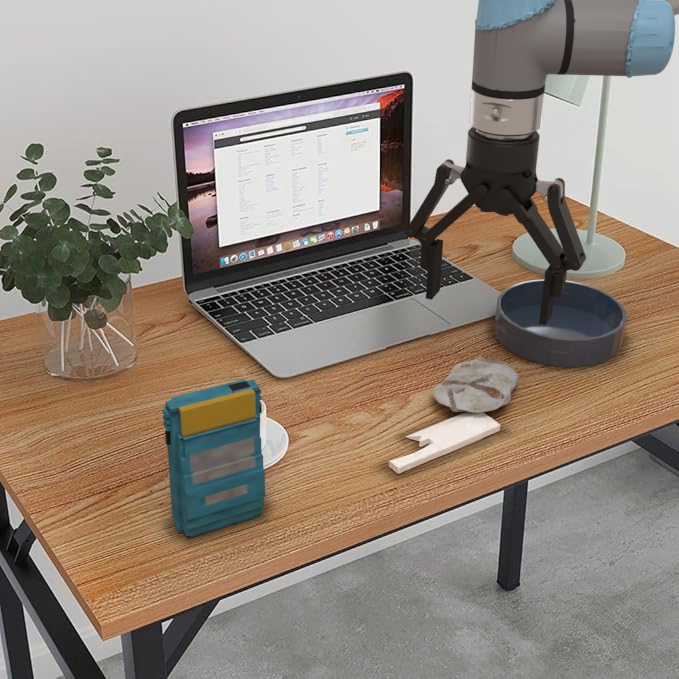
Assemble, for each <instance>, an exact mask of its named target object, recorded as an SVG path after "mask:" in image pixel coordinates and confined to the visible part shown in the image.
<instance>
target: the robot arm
mask: <svg viewBox="0 0 679 679" xmlns="http://www.w3.org/2000/svg"><path fill="white" fill-rule="evenodd" d="M678 15H679V0H478V5H477V12H476V19H475V20H474V25H475V26H474V27H475V28H474V43H473V58H472V59H473V61H472V74H471V75H472V77H471V86H470V87H471V89H470V101H469V102H470V103H469V115H468V116H469V119H468V123H469V125H470V126H471V127H470V128H469V129H468V131H467V139H466V141H467V142H466V152H465V153H466V154H465V165H464V166H461V165H457V164H455V162H454V161H453V159H449V158H448V159H446V160H444V161H443V162H442V163H441V164H440V165H439V166H438V167H437V168H436V170H435V176H434V181H433V182H434V183H433V185H432V187H431V188H430V189H429V192H428V193H427V195H426V197H424V200H423V202H422V203H421V205H420V206H419V208H418V210H417V211H416V213H415V215H414V216H413V218H412V220H411V221H410V223H409V224H408V226H407V228H406V229H405V235H406V237H407V238H410V239H412V238H414V239H415V240H417V241H418V242H419V244H420V259H419V266H420V268H421V270H424V271H425V270H426V271H427V272H426V286H425V299H427V300H431V301H432V300H433V299H434V298H435V297H436V296H437V295H438V293H439V292H440V291H441V280H442V265H443V264H442V263H443V250H444V239H439V238H438V237H440V236H441V234H442V233H444V232H445V231H446V230H447V229H448V228H449V227H450V226H452V225H453V224H454V223H455V222H457V220H459V218H461V217H462V216H463V215H464V214H465V213H466V212H468V211H469V210H470V209H471V208H472V207H473V206H475V207H476V208H478V209H479V210H480V212H482V213H495V214H497V215H500V216H503V217H509V216H510V215H513V216H514V218H515V219H516V222H518V224H521V225H522V226H523V227H524V229H525V230H526V232H527V233H528V235H529V236H530V238H531V239H532V241H533V242H534V244H535V246H536V247H537V248H538V250H539V251H540V253H541V255H542V256H543V257H544V258H545V260H546V261H547V263H548V265H549V266H548V267H547V269H546V270H545V271H544V278H543V279H544V286H543V294H542V303H541V311H540V320H539V324H542V325H546V324H547V322H548V321H549V319H550V317H551V316H552V312H553V304H554V297H557V298H559V297H560V295H561V294H562V292H563V291H564V289H565V282H566V281H567V273H568V271H574V272H578V271H579V270H581V267H582V266H583V264H584V263H585V262H586V260H587V256H586V253H585V250H584V247H583V244H582V241H581V239H580V236H579V232H578V231H577V228H576V225H575V222H574V220H573V216H572V214H571V211H570V209H569V206H568V203H567V201H566V182H565V180H564V179H563V178H562V177H557V178H555V179H554V180H553V181H552V180H539V178H538V175H537V165H538V155H539V146H540V138H541V137H540V134H539V132H538V131H539V130H540V129H541V127H542V121H543V120H542V119H543V108H544V100H545V90H546V80H547V76H548V75H556V76H557V75H558V76H565V75H567V76H600V77H601V76H602V77H603V76H604V77H626V78H632V77H644V76H655V75H658V74H661V73H662V72H663V71H664V70H665V69H666V67H667V66H668V64H669V63H670V60H671V58H672V54H673V51H674V45H675V37H676V18H675V17H676V16H678ZM458 179H459V180H460V182H461V183H462V185H463V187H464V188H465V190H466V192H467V194H466V195H465V196H464V197H463V198H462V199H461V200H460V201H458V202H457V203H456V204H455V205H454V206H453V207H452V208H451V209H450V210H449V211H447V212H446V213H445V214H444V215H443V216H442V217H441V218H439V220H437V221H436V222H435V223H434V224H433V225H432V226H430V227H427V226H425V225H426V223H427V222H428V220H429V218H430V217H431V215H432V214H433V212H434V210H435V209H436V207H437V206H438V204H439V202H440V201H441V199H442V197H444V194H445V193H446V191H447V190H448V188H449V187H450V186H451V185H452V186H453V184H454V183H456V181H457V180H458ZM536 193H538V194H540V196H541V198H542V201H543V202H544V203H547V209H548V212H549V215H550V217H551V220H552V224H553V226H554V229H555V231H556V235H557V236H558V237H557V238H558V239H557V238H556V236H555V234H554V233H553V232H552V230H551V228H550V227H549V226H548V224H547V223H546V221H545V220H544V218H543V217H542V215H541V214H540V212H539V211H538V206H537V204H536V203H535V201H534V200H533V198H532V197H533V196H534V195H535V194H536ZM558 240H559V241H558Z"/></svg>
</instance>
